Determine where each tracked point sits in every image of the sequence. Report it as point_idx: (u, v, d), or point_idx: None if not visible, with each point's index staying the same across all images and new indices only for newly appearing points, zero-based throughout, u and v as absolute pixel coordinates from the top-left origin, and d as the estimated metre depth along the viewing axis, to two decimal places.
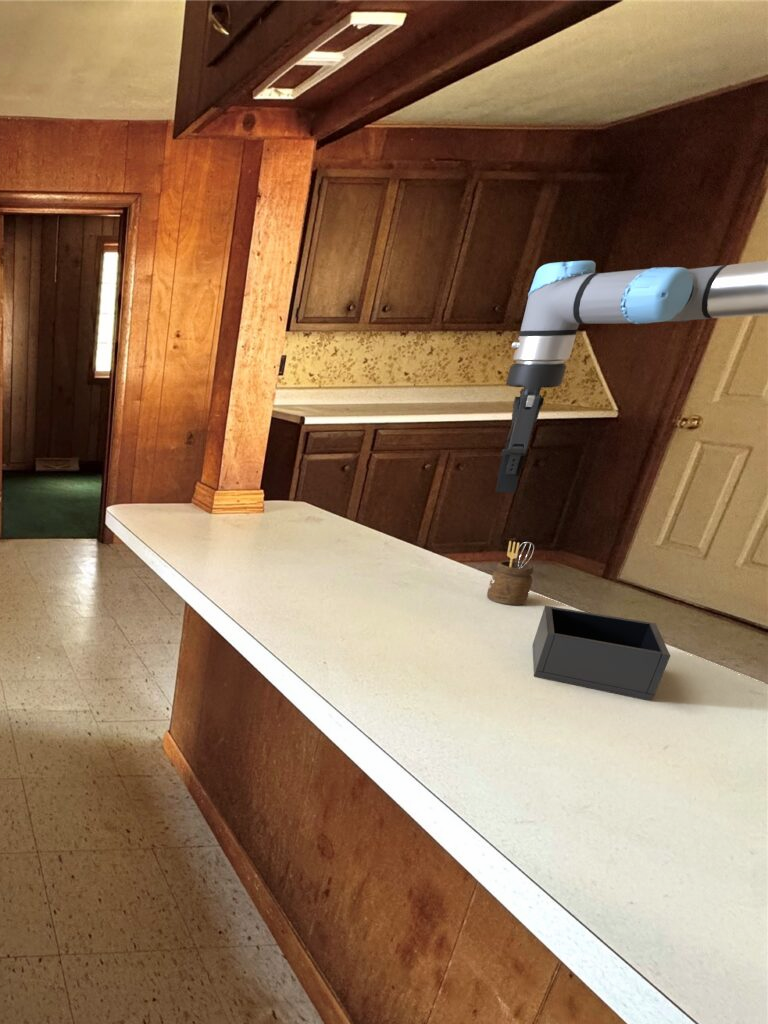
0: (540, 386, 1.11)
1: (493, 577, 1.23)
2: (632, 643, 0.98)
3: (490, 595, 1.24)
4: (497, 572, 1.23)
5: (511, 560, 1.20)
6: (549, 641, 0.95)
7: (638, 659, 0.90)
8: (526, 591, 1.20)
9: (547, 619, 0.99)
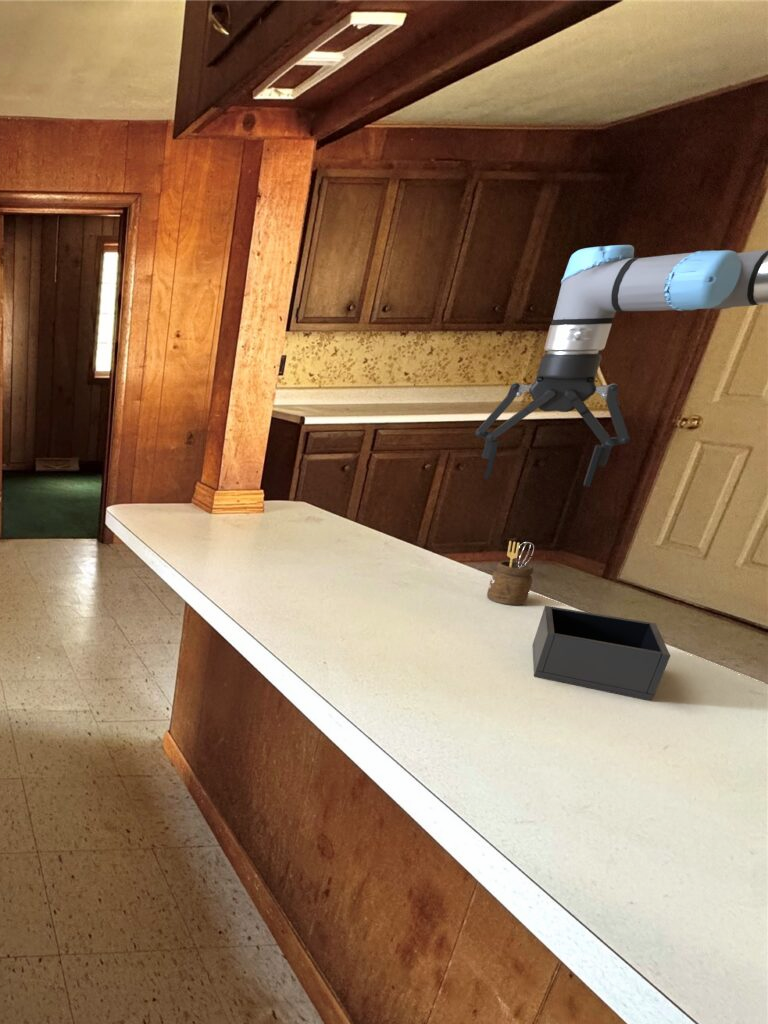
0: None
1: (493, 577, 1.23)
2: (632, 643, 0.98)
3: (490, 595, 1.24)
4: (497, 572, 1.23)
5: (511, 560, 1.20)
6: (549, 641, 0.95)
7: (638, 659, 0.90)
8: (526, 591, 1.20)
9: (547, 619, 0.99)
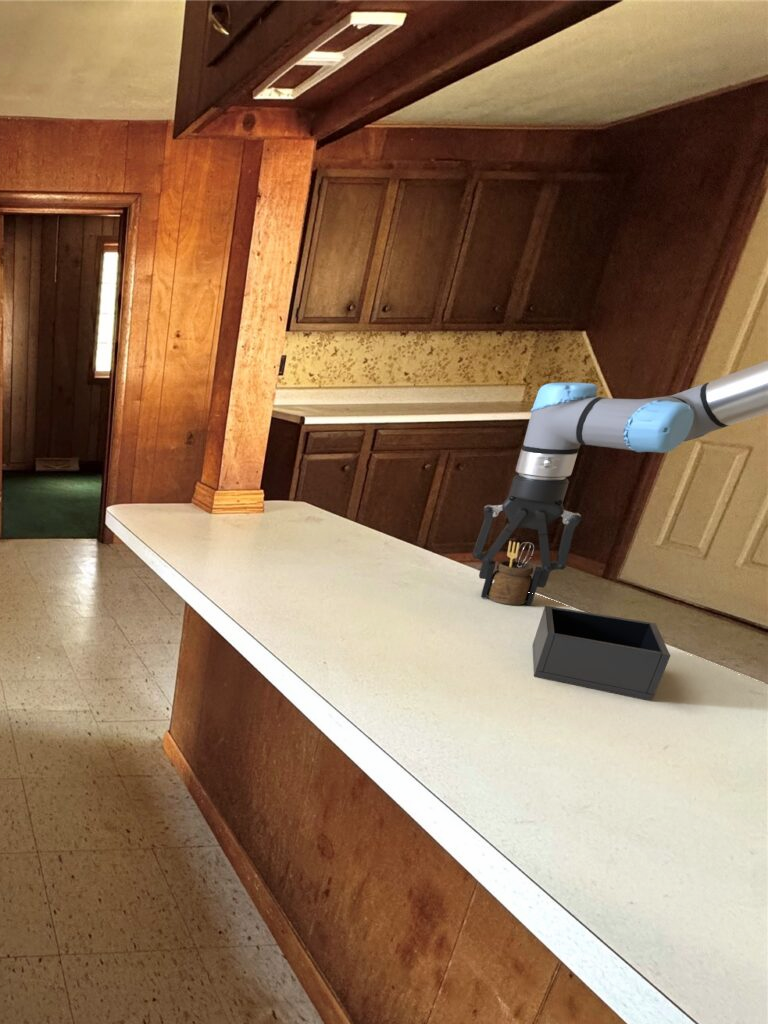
0: None
1: (493, 577, 1.23)
2: (632, 643, 0.98)
3: (490, 595, 1.24)
4: (497, 572, 1.23)
5: (511, 560, 1.20)
6: (549, 641, 0.95)
7: (638, 659, 0.90)
8: (526, 591, 1.20)
9: (547, 619, 0.99)
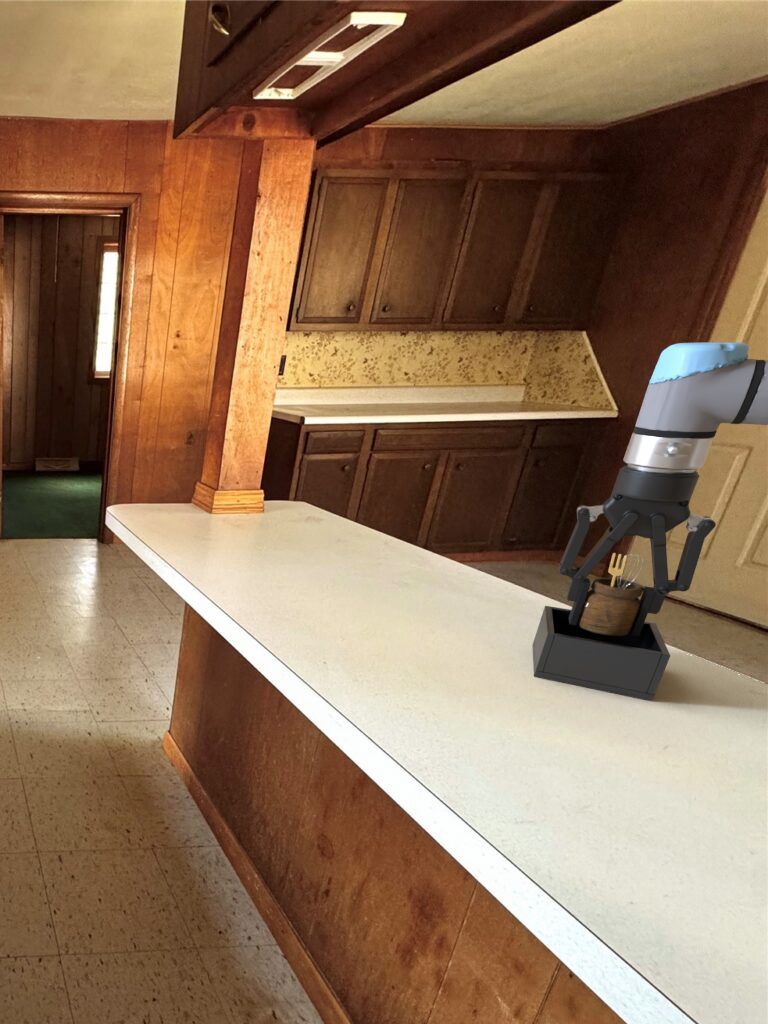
0: None
1: (587, 599, 0.95)
2: (632, 643, 0.98)
3: (582, 622, 0.96)
4: (592, 593, 0.95)
5: (614, 578, 0.92)
6: (549, 641, 0.95)
7: (638, 659, 0.90)
8: (632, 618, 0.92)
9: (547, 619, 0.99)
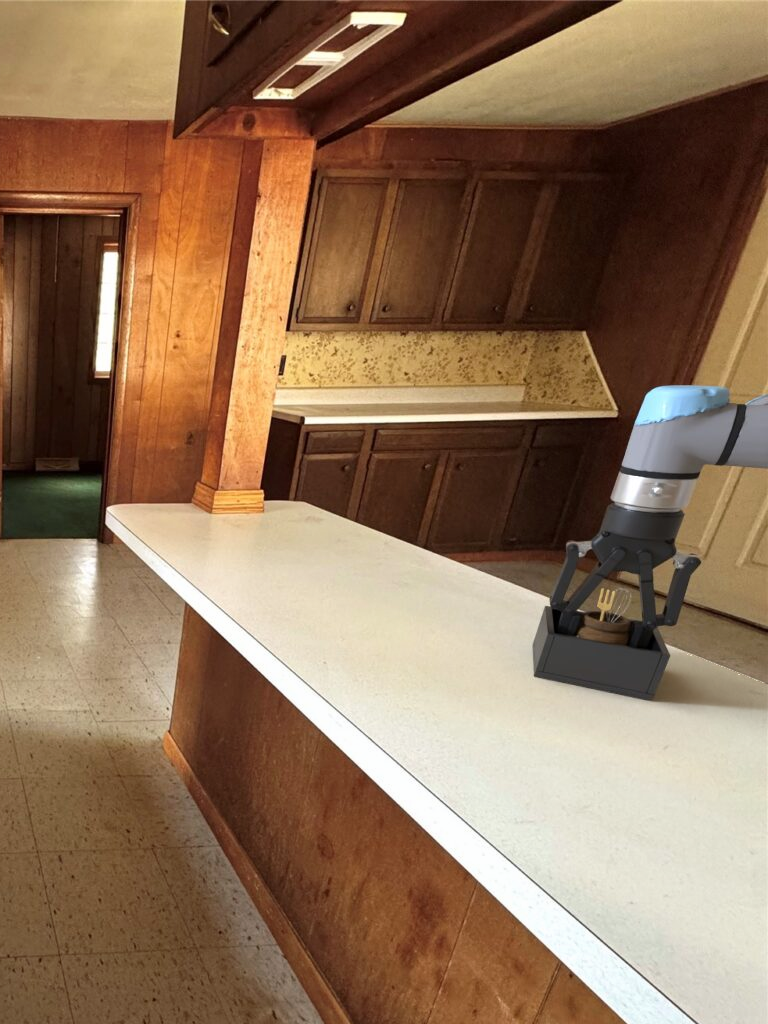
0: None
1: (577, 632, 0.97)
2: None
3: None
4: (582, 626, 0.96)
5: (603, 612, 0.94)
6: (549, 641, 0.95)
7: (638, 659, 0.90)
8: None
9: (547, 619, 0.99)
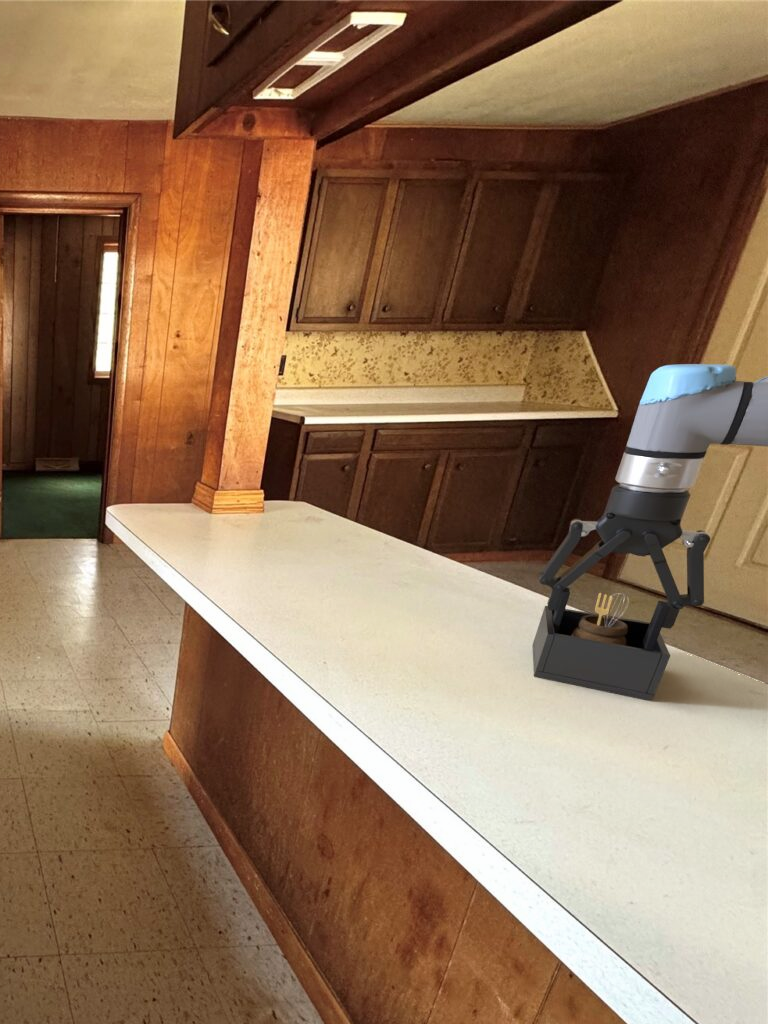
0: None
1: (574, 636, 0.97)
2: (632, 643, 0.98)
3: None
4: (580, 630, 0.97)
5: (600, 617, 0.94)
6: (549, 641, 0.95)
7: (638, 659, 0.90)
8: None
9: (547, 619, 0.99)
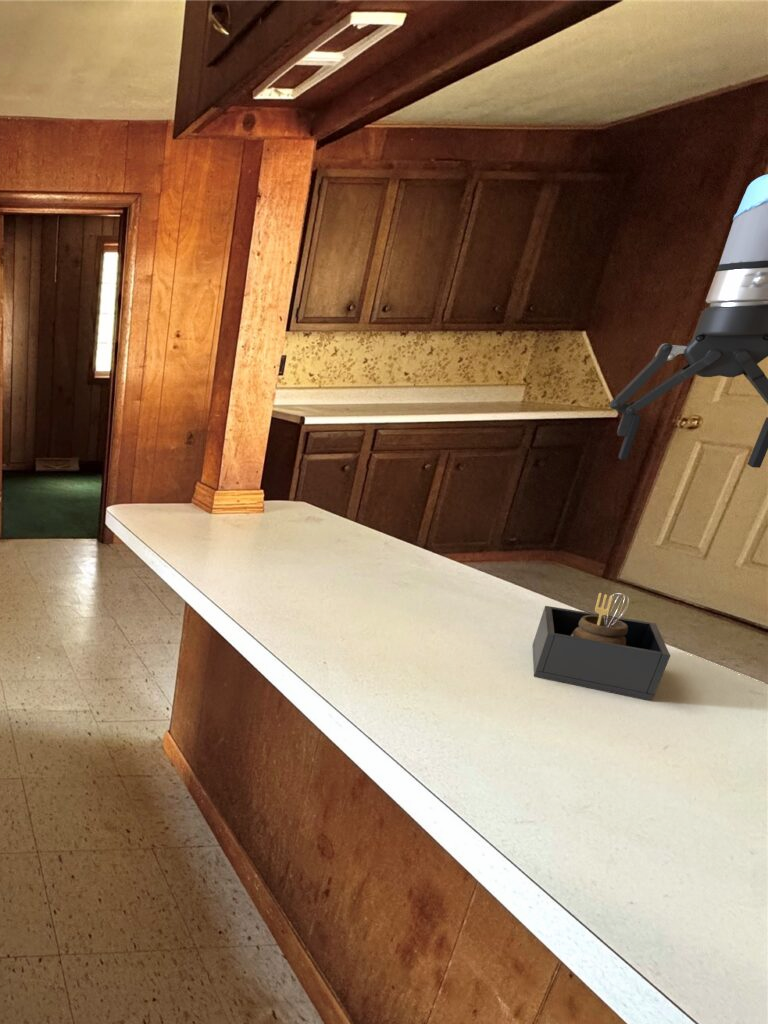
0: None
1: (574, 636, 0.97)
2: (632, 643, 0.98)
3: None
4: (580, 630, 0.97)
5: (600, 617, 0.94)
6: (549, 641, 0.95)
7: (638, 659, 0.90)
8: None
9: (547, 619, 0.99)
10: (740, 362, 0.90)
